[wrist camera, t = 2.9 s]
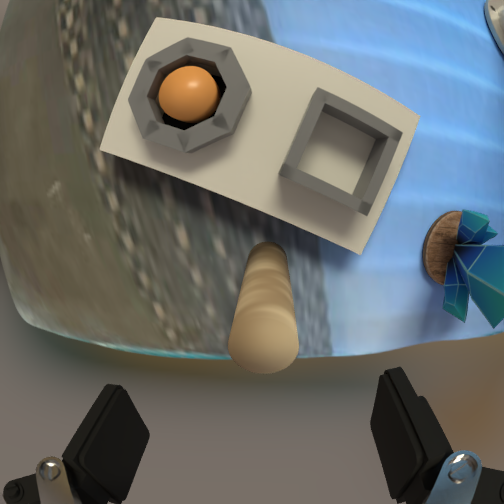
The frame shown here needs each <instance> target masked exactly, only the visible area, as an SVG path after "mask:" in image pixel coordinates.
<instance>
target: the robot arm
mask: <svg viewBox="0 0 504 504" xmlns="http://www.w3.org/2000/svg"><path fill="white" fill-rule="evenodd" d="M484 9H485V16H486V19H487V23H488V25H489V28H490V30H491V32H492V34H493V37H494V39H495V41H496V42H497V44H498V46H499V48H500V49H501V51H502V53H503V54H504V0H486V2H485V6H484ZM370 425H371V430H372V433H373V437H374V440H375V443H376V447H377V450H378V453H379V457H380V460H381V463H382V467H383V470H384V474H385V478H386V481H387V485H388V488H389V492H390V496H391V498H392V499H396V500H397V504H398V503H402V502H405V501H406V504H504V471H500V470H495V469H490V468H485V467H482V464H481V460H480V458H479V457H478V456H477V455H476V454H474V453H473V452H470V451H458V452H455V453H454V452H453V450H452V448H451V446H450V444H449V442H448V440H447V438H446V436H445V434H444V432H443V430H442V428H441V426H440V424H439V422H438V420H437V418H436V416H435V415H434V413H433V411H432V409H431V407H430V406H429V404H428V402H427V400H426V399H425V398H424V397H423V396H419V397H418V396H417V394H416V393H415V391H414V389H413V387H412V385H411V383H410V381H409V380H408V378H407V376H406V374H405V372H404V371H403V369H402V368H401V367H397V368H393V369H388V370H385V372H384V375H380V377H379V383H378V388H377V393H376V398H375V403H374V408H373V413H372V417H371V422H370ZM149 436H150V434H149V430H148V429H147V427H146V425H145V424H144V422H143V420H142V418H141V417H140V415H139V413H138V411H137V410H136V408H135V406H134V404H133V402H132V400H131V399H130V397H129V395H128V393H127V391H126V390H124V389H123V387H122V386H120V385H112V384H107V385H106V386H105V387H104V389H103V390H102V392H101V393H100V395H99V396H98V398H97V399H96V401H95V402H94V404H93V406H92V407H91V409H90V410H89V412H88V413H87V415H86V417H85V418H84V420H83V421H82V423H81V425H80V426H79V428H78V429H77V431H76V433H75V434H74V436H73V438H72V439H71V441H70V443H69V444H68V446H67V448H66V450H65V451H64V453H63V455H62V457H63V460H62V461H61V460H60V459H59V458H57V457H53V456H51V457H46V458H44V459H42V460H41V461H40V462H39V463H38V465H37V467H36V473H35V474H32V475H29V476H25V477H22V478H19V479H15V480H12V481H9V482H8V483H7V484H6V486H5V487H4V491H3V494H2V493H0V504H107V503H108V501H109V502H111V503H114V504H121V503H122V501H124V500H125V499H126V497H127V495H128V492H129V490H130V487H131V484H132V482H133V479H134V476H135V474H136V471H137V468H138V466H139V463H140V461H141V458H142V456H143V453H144V450H145V448H146V445H147V443H148V440H149Z"/></svg>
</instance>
